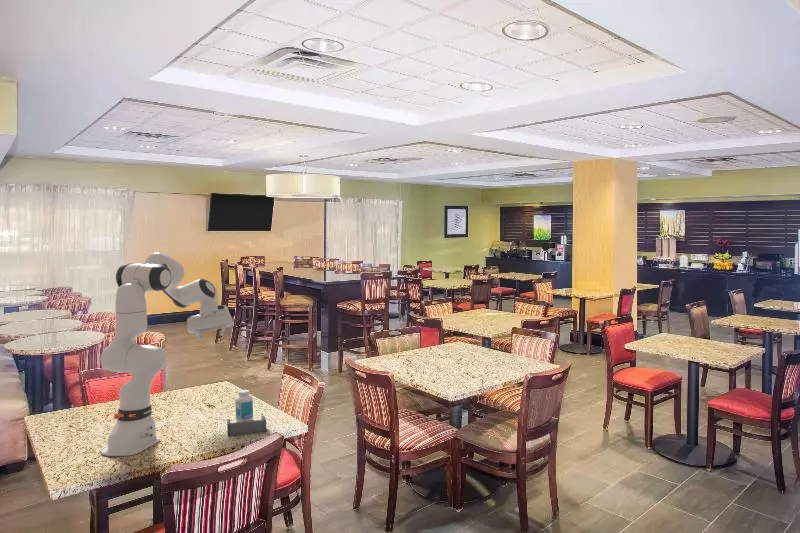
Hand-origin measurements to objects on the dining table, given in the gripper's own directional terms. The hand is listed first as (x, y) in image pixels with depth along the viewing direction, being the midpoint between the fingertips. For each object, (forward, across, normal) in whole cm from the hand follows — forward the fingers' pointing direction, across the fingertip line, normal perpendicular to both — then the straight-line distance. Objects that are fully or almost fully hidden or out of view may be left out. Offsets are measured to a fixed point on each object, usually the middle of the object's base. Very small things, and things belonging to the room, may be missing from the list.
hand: (211, 336), depth 258 cm
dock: (+47, +11, +6) cm, 49 cm away
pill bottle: (+37, +9, +16) cm, 42 cm away
